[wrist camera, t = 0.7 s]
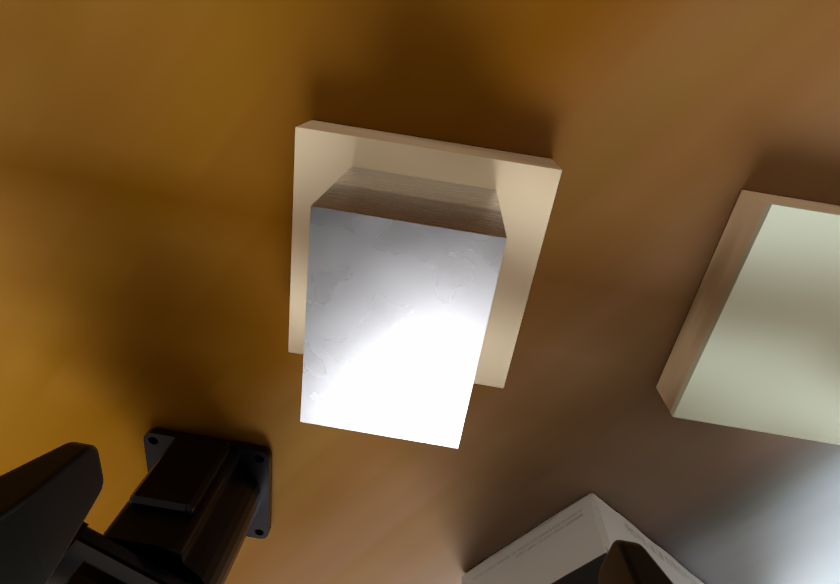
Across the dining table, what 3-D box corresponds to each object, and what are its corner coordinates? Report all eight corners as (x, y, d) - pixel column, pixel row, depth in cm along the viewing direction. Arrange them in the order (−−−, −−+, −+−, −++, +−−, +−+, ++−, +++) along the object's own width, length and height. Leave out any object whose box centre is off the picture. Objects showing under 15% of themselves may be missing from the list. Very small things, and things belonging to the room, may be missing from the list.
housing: (459, 360, 20) (457, 448, 15) (337, 339, 20) (300, 421, 16) (496, 190, 17) (506, 238, 12) (351, 166, 17) (310, 206, 12)
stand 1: (500, 361, 22) (503, 388, 20) (302, 328, 22) (288, 351, 20) (552, 158, 18) (561, 170, 16) (312, 120, 18) (295, 126, 17)
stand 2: (857, 421, 22) (892, 454, 20) (655, 387, 22) (672, 416, 20) (988, 229, 18) (1045, 248, 16) (742, 189, 18) (771, 204, 16)
